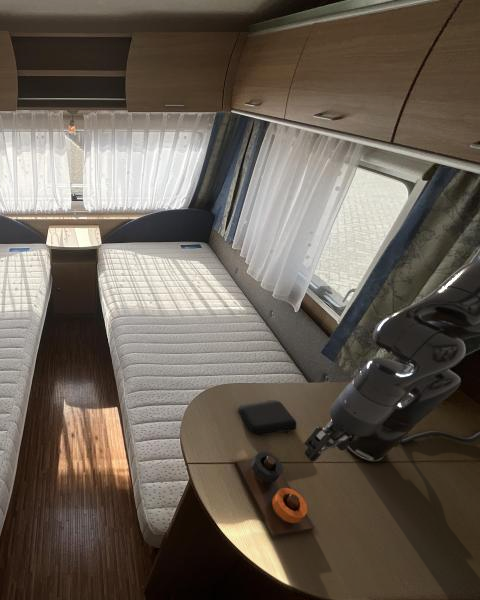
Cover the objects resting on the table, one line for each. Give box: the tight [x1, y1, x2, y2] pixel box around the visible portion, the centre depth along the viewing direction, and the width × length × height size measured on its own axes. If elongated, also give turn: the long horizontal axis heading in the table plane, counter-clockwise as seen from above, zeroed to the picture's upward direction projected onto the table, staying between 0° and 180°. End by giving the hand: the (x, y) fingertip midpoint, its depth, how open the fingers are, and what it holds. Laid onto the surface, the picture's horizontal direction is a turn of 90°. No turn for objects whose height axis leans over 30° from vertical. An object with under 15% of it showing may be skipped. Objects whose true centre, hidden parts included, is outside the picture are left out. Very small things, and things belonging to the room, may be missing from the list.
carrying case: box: [237, 399, 297, 436], centre depth 99 cm, size 11×3×15 cm
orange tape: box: [272, 488, 308, 523], centre depth 77 cm, size 6×6×3 cm
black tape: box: [252, 451, 284, 482], centre depth 84 cm, size 6×6×3 cm
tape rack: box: [234, 456, 316, 538], centre depth 81 cm, size 10×17×8 cm, turn 8°
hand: (324, 451), depth 73 cm, fingers open, 8 cm apart
